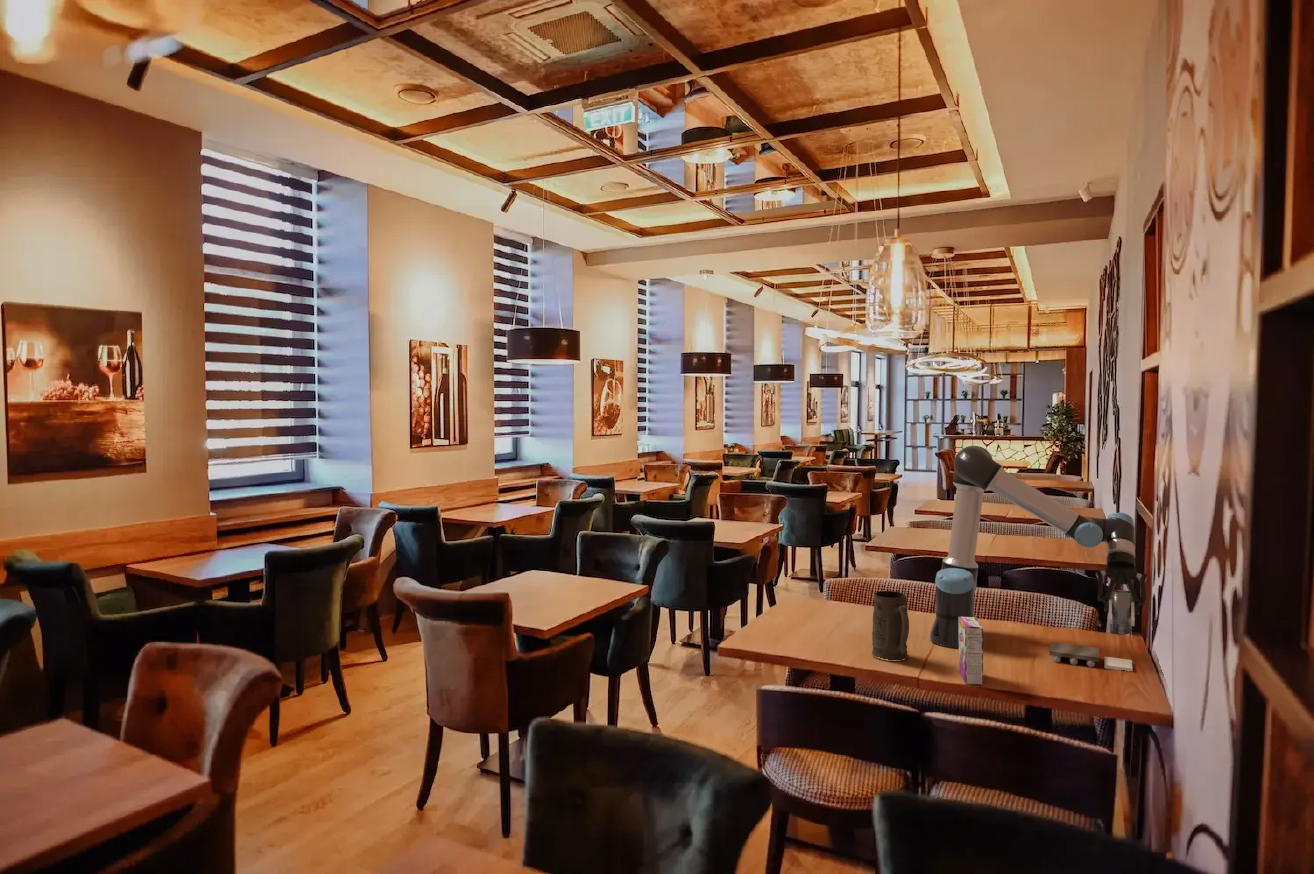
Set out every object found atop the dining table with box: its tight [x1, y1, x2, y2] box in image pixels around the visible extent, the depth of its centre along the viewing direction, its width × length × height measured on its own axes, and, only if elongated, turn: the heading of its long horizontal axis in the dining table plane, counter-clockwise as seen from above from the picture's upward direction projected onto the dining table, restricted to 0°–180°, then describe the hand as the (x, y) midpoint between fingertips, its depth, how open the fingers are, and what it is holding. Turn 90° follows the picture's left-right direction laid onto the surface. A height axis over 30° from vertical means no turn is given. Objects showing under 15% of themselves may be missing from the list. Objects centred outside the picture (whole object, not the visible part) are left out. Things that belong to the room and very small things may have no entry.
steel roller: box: [1111, 589, 1132, 635], centre depth 229 cm, size 5×5×12 cm
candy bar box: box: [958, 616, 984, 686], centre depth 220 cm, size 11×5×16 cm, turn 168°
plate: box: [1104, 656, 1133, 672], centre depth 230 cm, size 7×9×1 cm
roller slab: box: [1048, 641, 1100, 668], centre depth 236 cm, size 13×11×3 cm
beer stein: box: [871, 590, 910, 660], centre depth 238 cm, size 15×11×20 cm
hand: (1121, 622), depth 226 cm, fingers closed on steel roller, 5 cm apart
